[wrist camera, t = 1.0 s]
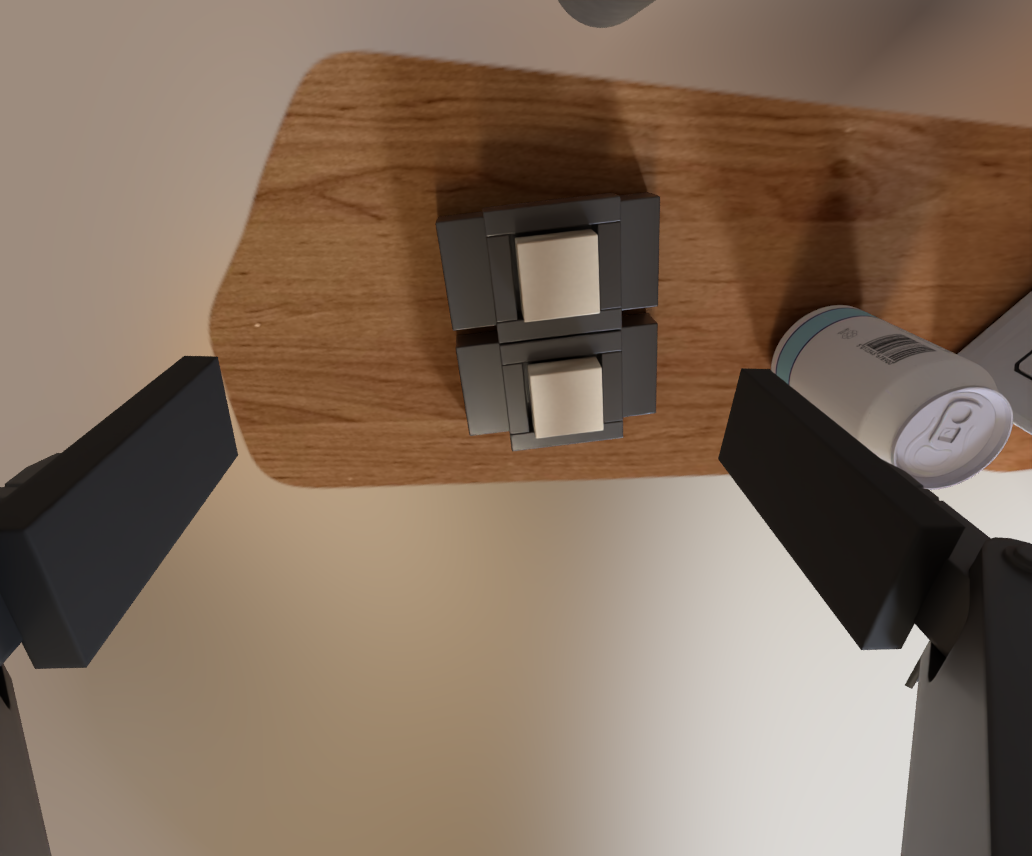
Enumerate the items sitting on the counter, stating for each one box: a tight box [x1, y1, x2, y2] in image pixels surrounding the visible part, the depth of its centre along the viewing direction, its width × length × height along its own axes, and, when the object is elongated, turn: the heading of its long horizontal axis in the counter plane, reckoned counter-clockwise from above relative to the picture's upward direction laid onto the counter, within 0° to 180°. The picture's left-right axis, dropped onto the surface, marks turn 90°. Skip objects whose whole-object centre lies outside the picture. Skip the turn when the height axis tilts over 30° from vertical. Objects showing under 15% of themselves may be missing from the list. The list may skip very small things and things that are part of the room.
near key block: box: [436, 192, 660, 343], centre depth 31 cm, size 12×7×4 cm, turn 96°
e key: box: [527, 356, 604, 438], centre depth 32 cm, size 4×4×2 cm
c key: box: [515, 229, 600, 322], centre depth 29 cm, size 4×4×2 cm
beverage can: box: [771, 305, 1013, 490], centre depth 32 cm, size 7×7×12 cm
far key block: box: [456, 313, 658, 451], centre depth 35 cm, size 12×7×4 cm, turn 96°
